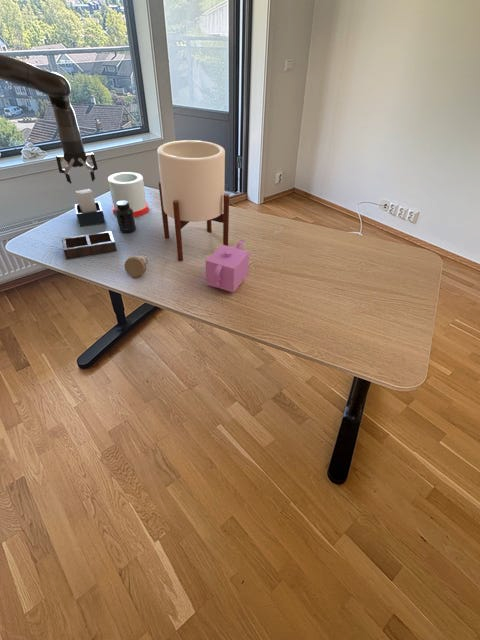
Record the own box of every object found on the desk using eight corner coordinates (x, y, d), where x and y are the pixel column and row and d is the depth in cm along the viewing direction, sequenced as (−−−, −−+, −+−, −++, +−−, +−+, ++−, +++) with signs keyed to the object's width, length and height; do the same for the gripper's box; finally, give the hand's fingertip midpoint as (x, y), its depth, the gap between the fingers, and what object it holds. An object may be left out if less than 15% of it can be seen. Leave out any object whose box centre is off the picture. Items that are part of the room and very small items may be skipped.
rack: (66, 259, 126) (63, 250, 124) (64, 247, 133) (61, 238, 130) (116, 251, 132) (114, 242, 130) (113, 239, 139) (111, 230, 136)
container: (155, 207, 164) (151, 175, 154) (134, 220, 153) (128, 186, 143) (127, 200, 168) (122, 169, 159) (105, 212, 157) (98, 179, 148)
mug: (154, 263, 127) (151, 250, 118) (143, 286, 124) (140, 273, 114) (134, 256, 127) (131, 242, 118) (123, 278, 124) (118, 265, 114)
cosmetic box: (96, 215, 153) (89, 187, 146) (99, 219, 151) (92, 191, 143) (82, 218, 151) (74, 190, 143) (85, 222, 148) (77, 194, 140)
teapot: (229, 300, 112) (230, 267, 104) (202, 291, 115) (201, 259, 107) (253, 270, 126) (256, 239, 118) (229, 263, 129) (229, 232, 121)
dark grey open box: (79, 226, 146) (76, 214, 142) (77, 216, 153) (74, 204, 149) (105, 223, 149) (102, 210, 146) (102, 213, 156) (99, 201, 153)
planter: (176, 263, 127) (167, 162, 104) (161, 236, 143) (150, 142, 119) (232, 253, 135) (235, 156, 111) (212, 228, 150) (211, 138, 126)
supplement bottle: (120, 226, 148) (115, 199, 140) (137, 226, 148) (132, 199, 140) (118, 234, 142) (112, 206, 134) (135, 234, 143) (130, 206, 135)
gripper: (89, 134, 135) (98, 177, 145) (49, 136, 130) (62, 180, 141) (91, 139, 129) (101, 183, 140) (50, 141, 125) (63, 186, 135)
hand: (81, 181), depth 140 cm, fingers open, 8 cm apart
